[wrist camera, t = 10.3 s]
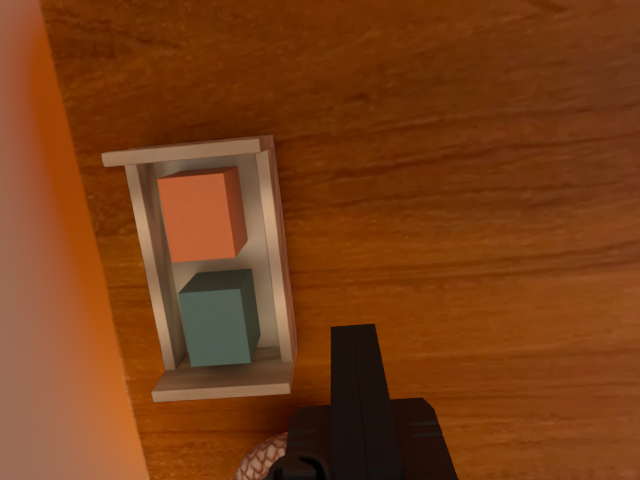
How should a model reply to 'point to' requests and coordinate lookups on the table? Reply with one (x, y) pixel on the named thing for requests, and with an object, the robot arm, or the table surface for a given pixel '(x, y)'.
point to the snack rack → (215, 265)
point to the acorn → (261, 458)
